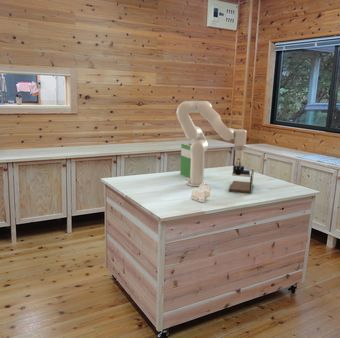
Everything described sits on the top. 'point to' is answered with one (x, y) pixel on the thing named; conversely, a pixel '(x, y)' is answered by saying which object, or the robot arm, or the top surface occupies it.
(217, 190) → the top surface
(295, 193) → the top surface
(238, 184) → the brown desk organizer
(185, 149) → the hardback book
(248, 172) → the trainer
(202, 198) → the cream knobbly stepped block
